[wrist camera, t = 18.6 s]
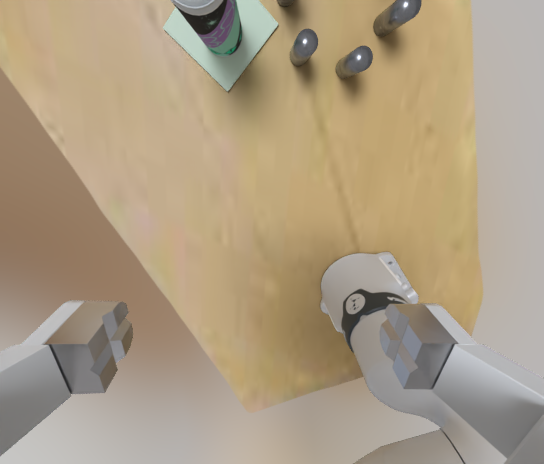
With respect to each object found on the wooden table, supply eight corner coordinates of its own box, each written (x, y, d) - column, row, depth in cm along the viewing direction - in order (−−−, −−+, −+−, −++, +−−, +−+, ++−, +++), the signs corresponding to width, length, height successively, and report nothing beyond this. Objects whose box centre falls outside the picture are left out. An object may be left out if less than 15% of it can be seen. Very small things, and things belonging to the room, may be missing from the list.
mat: (278, 25, 35) (278, 24, 34) (227, 91, 38) (227, 91, 37) (213, -52, 31) (213, -54, 31) (163, 28, 34) (162, 28, 34)
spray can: (195, 39, 35) (123, -44, 16) (214, -3, 33) (157, -150, 15) (230, 66, 36) (199, 16, 18) (250, 26, 34) (239, -73, 16)
